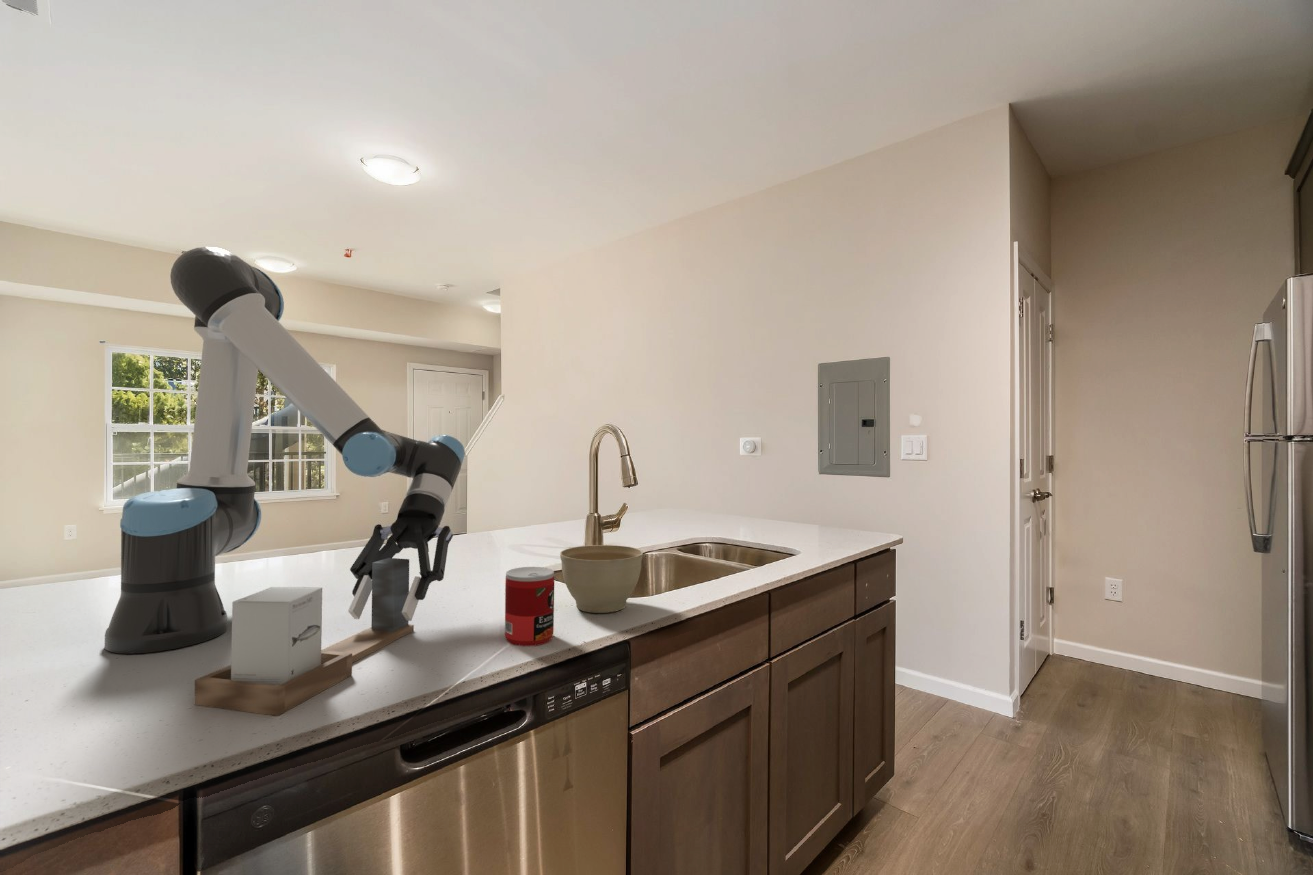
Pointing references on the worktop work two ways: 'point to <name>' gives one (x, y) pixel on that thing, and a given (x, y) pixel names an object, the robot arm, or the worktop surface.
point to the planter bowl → (601, 575)
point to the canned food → (529, 606)
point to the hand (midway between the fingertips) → (380, 615)
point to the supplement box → (276, 634)
